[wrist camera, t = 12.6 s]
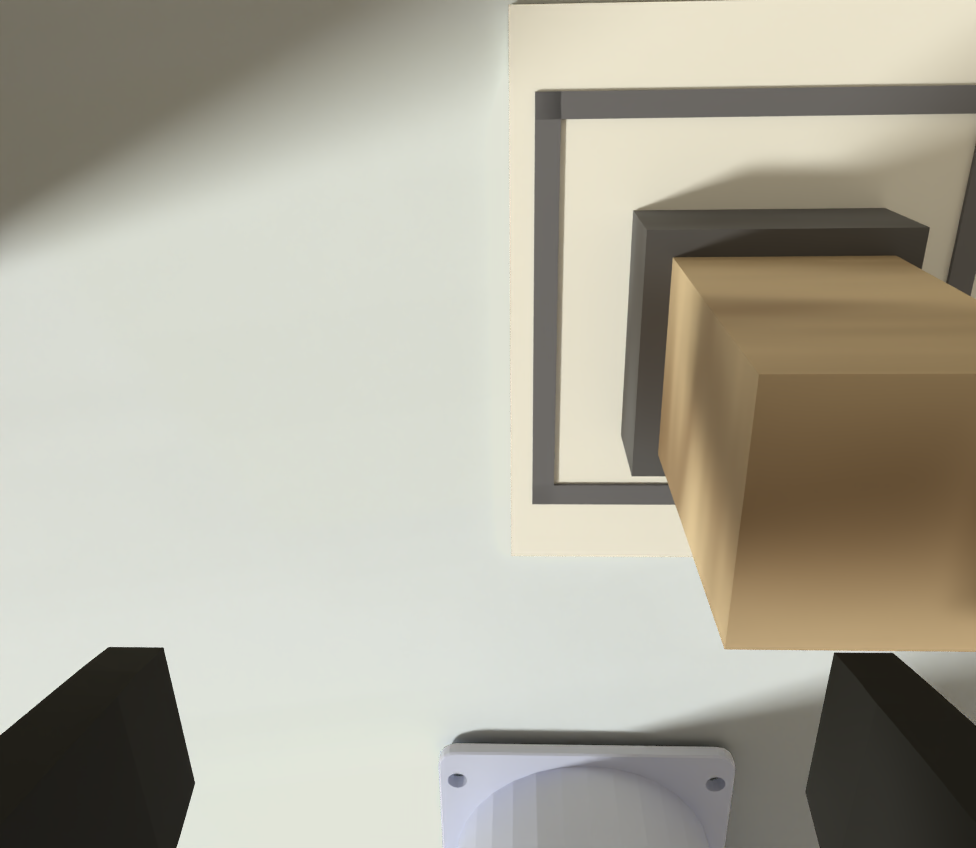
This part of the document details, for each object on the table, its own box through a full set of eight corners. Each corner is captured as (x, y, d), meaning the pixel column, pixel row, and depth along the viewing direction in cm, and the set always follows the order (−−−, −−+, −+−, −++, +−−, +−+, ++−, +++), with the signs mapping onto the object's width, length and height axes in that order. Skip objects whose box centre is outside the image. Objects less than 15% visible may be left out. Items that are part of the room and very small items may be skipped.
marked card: (926, 553, 20) (931, 560, 20) (511, 551, 20) (511, 558, 20) (1057, -6, 15) (1067, -7, 15) (508, 5, 16) (508, 4, 15)
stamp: (845, 435, 19) (1053, 681, 11) (621, 435, 19) (685, 678, 12) (885, 207, 17) (1170, 331, 9) (633, 210, 17) (720, 333, 10)
